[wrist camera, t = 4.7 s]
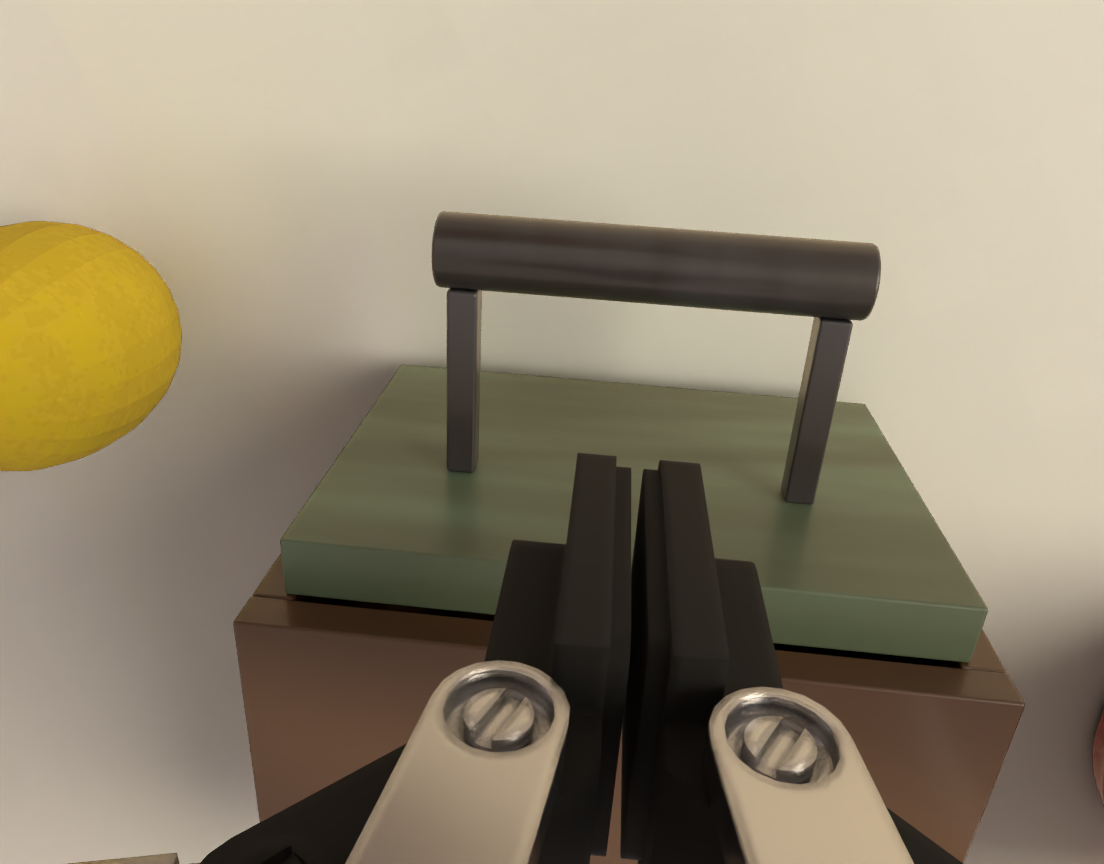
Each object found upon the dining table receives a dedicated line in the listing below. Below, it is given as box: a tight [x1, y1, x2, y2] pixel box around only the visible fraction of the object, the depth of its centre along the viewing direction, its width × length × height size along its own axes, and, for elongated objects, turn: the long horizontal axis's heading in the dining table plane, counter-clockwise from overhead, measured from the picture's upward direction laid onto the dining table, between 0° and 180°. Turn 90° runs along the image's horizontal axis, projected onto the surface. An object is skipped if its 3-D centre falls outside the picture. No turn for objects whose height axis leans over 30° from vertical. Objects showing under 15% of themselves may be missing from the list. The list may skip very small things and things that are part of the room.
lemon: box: [0, 221, 182, 471], centre depth 20 cm, size 6×6×8 cm
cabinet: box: [234, 554, 1025, 864], centre depth 23 cm, size 16×14×11 cm
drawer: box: [280, 211, 988, 663], centre depth 21 cm, size 20×12×9 cm, turn 177°
